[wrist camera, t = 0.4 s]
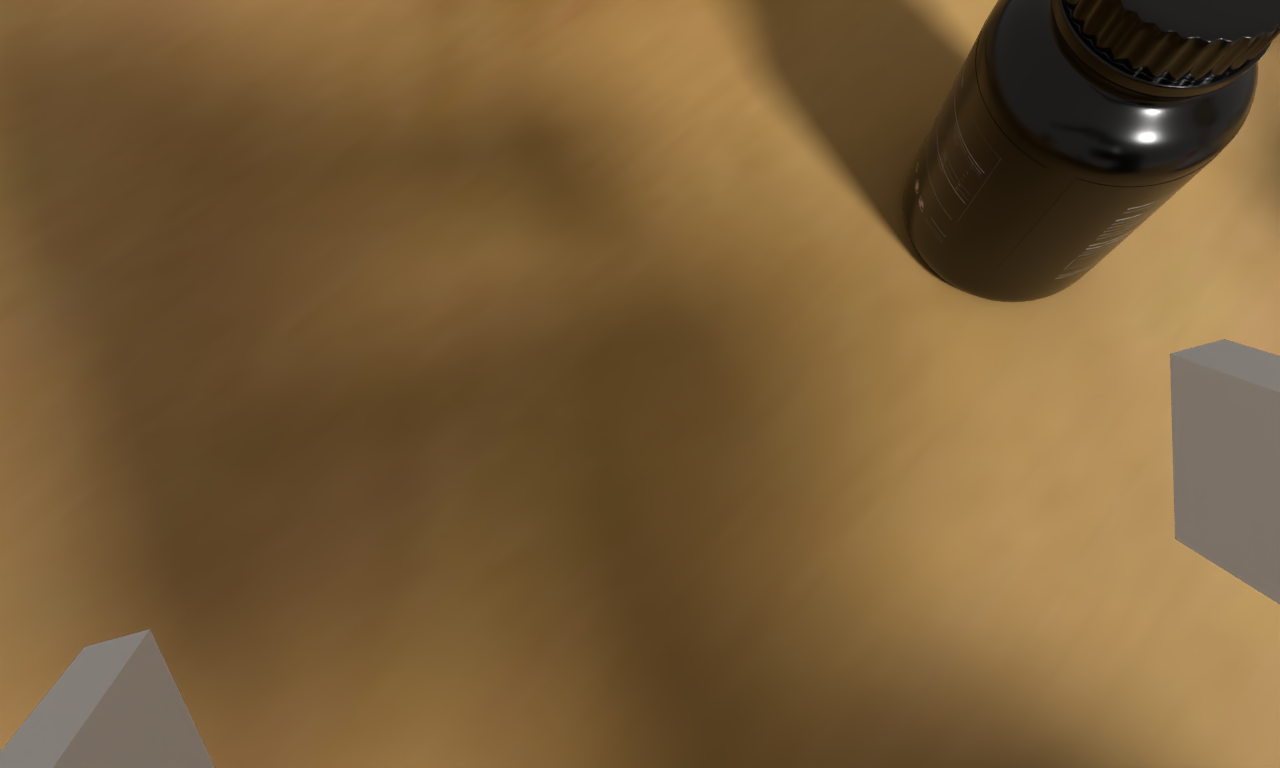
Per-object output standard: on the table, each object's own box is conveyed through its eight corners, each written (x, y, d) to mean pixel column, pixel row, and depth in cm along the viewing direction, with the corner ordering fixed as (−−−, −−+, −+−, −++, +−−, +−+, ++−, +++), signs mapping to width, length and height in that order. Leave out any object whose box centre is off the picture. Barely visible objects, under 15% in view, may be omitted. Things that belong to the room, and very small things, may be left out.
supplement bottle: (1077, 127, 31) (1328, -179, 20) (1112, 305, 29) (1416, 81, 18) (884, 133, 31) (1022, -169, 20) (907, 311, 29) (1076, 92, 18)
